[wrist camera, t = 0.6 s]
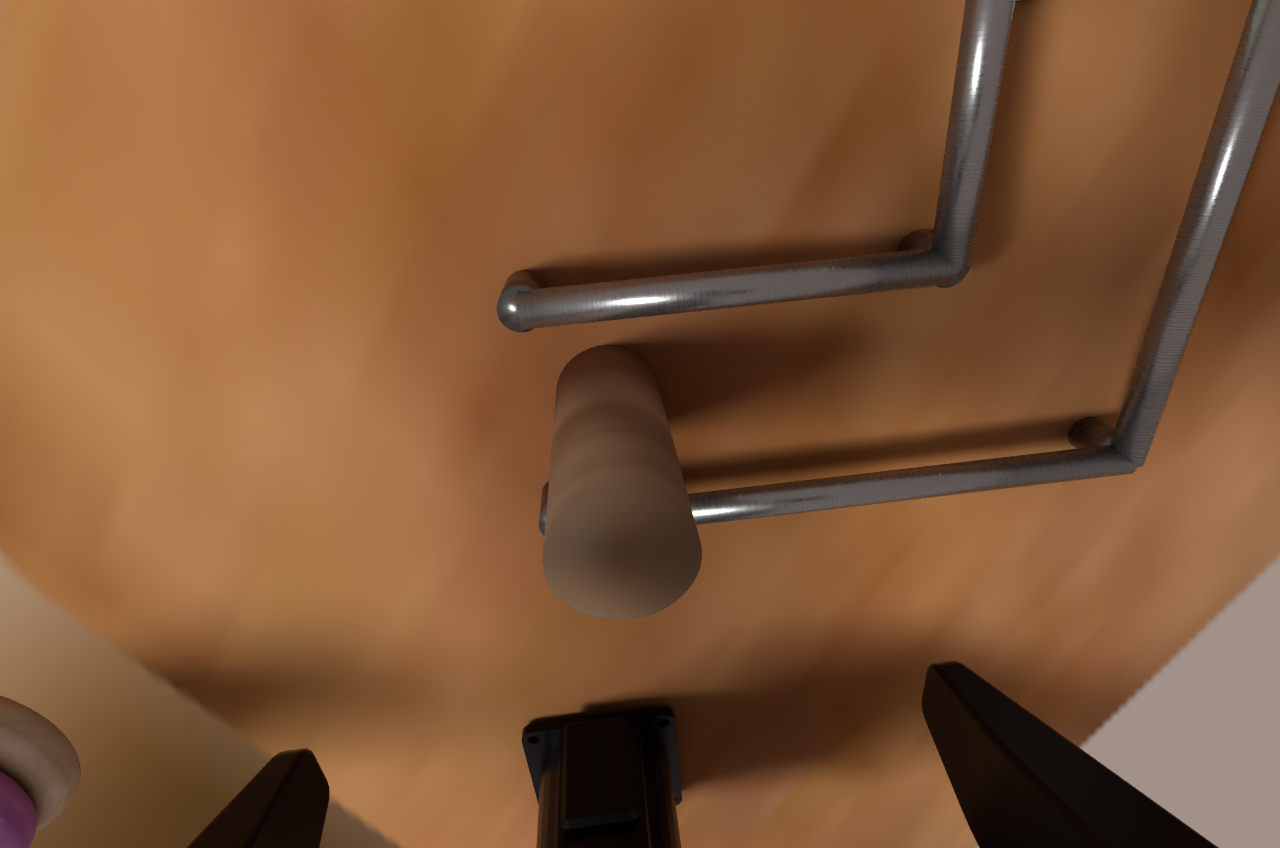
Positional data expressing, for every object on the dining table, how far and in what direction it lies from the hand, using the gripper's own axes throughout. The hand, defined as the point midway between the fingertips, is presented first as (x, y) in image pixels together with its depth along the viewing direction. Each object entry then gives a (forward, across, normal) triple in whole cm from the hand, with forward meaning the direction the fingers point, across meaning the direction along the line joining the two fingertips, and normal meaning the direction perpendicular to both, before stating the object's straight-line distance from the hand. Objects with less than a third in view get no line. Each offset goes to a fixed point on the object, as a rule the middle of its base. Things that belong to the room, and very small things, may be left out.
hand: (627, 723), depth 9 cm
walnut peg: (+12, 0, 0) cm, 12 cm away
